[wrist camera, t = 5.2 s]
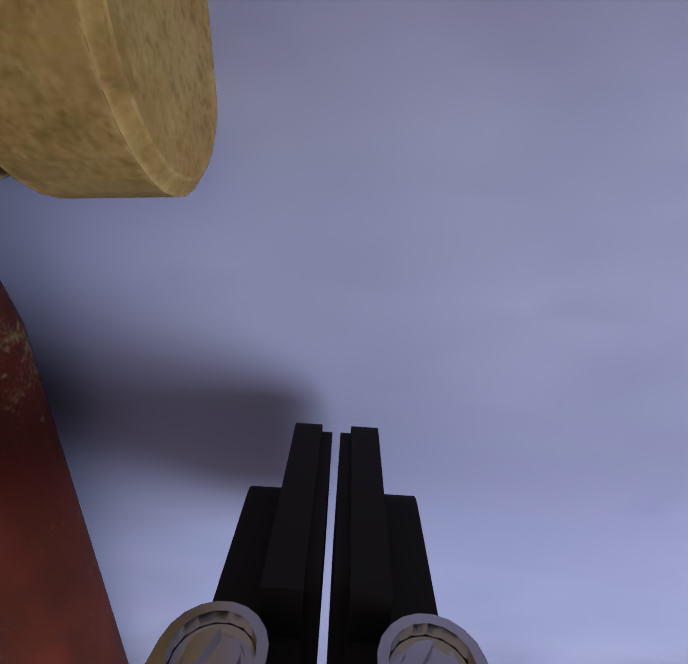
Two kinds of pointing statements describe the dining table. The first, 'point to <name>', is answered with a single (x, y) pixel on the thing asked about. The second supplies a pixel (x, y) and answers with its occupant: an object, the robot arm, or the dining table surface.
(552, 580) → the dining table surface
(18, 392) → the gavel
